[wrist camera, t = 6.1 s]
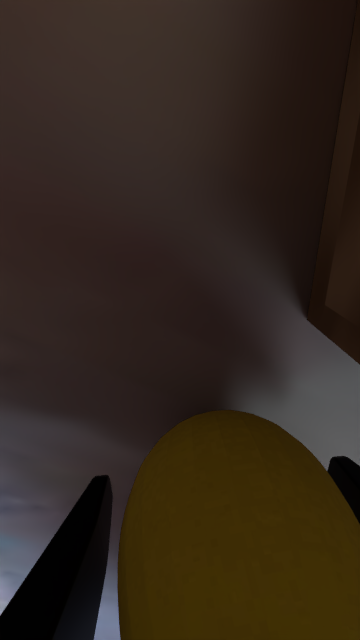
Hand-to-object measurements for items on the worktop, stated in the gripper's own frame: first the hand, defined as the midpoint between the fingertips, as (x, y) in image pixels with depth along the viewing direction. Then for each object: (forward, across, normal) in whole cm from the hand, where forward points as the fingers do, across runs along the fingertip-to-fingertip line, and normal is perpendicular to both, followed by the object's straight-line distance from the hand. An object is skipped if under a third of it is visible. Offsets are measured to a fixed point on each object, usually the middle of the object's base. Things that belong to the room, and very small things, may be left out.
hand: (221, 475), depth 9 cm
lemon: (+2, 0, 0) cm, 2 cm away
